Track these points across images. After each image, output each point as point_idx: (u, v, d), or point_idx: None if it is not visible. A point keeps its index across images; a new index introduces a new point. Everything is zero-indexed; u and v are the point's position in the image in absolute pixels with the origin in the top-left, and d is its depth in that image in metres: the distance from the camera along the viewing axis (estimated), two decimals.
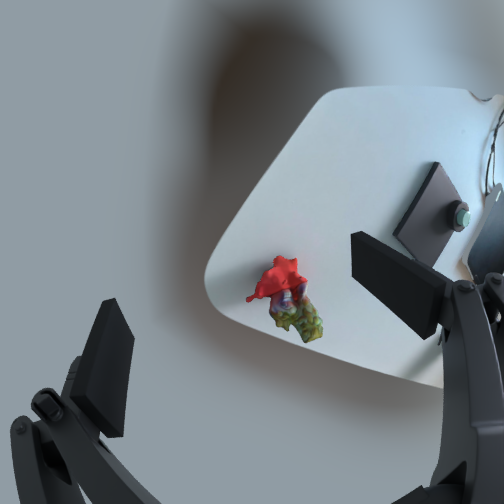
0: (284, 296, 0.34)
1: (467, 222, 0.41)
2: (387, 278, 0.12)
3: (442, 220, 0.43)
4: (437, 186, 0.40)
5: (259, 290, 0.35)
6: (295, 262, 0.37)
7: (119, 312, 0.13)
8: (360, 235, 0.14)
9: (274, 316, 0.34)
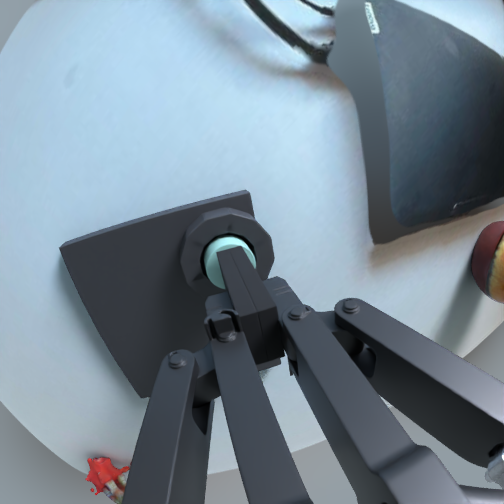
0: (105, 493, 0.23)
1: None
2: None
3: (197, 302, 0.20)
4: (102, 285, 0.18)
5: (96, 488, 0.24)
6: (95, 463, 0.25)
7: None
8: (235, 250, 0.15)
9: None
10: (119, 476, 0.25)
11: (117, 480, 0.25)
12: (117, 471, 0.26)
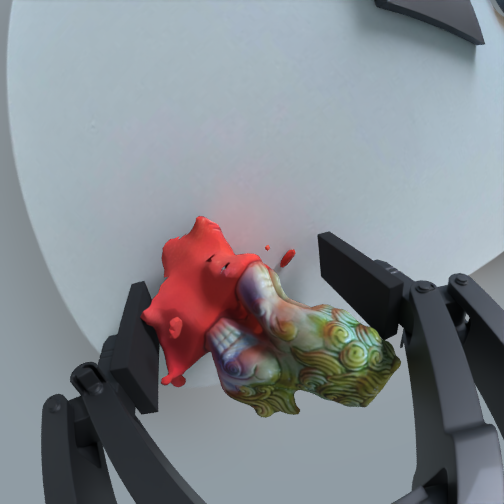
0: (218, 350, 0.11)
1: None
2: (349, 278, 0.13)
3: None
4: None
5: (168, 362, 0.12)
6: (203, 228, 0.12)
7: (148, 295, 0.14)
8: (326, 236, 0.15)
9: (240, 400, 0.11)
10: None
11: None
12: None
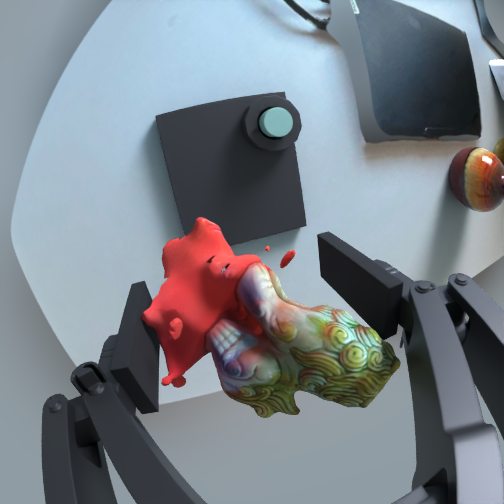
0: (219, 351, 0.11)
1: (286, 123, 0.25)
2: (349, 278, 0.13)
3: (249, 159, 0.29)
4: (183, 142, 0.27)
5: (169, 362, 0.12)
6: (203, 229, 0.12)
7: (148, 295, 0.14)
8: (326, 235, 0.15)
9: (240, 400, 0.11)
10: None
11: None
12: None
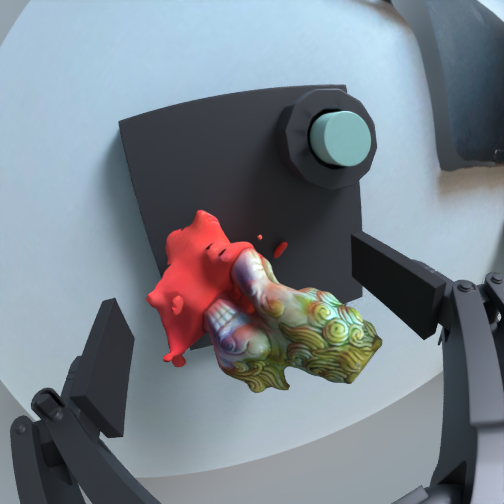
0: (215, 328, 0.12)
1: (361, 141, 0.13)
2: (387, 278, 0.12)
3: (287, 199, 0.17)
4: (169, 170, 0.15)
5: (170, 341, 0.13)
6: (203, 220, 0.14)
7: (119, 312, 0.13)
8: (360, 235, 0.14)
9: (235, 376, 0.12)
10: None
11: None
12: None
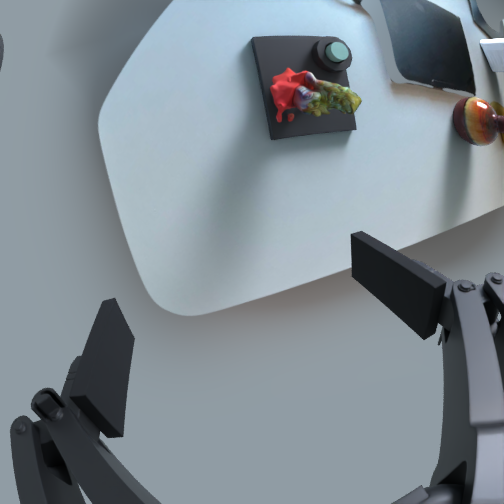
0: (300, 91, 0.29)
1: (344, 52, 0.30)
2: (387, 278, 0.12)
3: (317, 75, 0.34)
4: (272, 57, 0.32)
5: (279, 103, 0.31)
6: (289, 70, 0.31)
7: (119, 312, 0.13)
8: (360, 235, 0.14)
9: (308, 111, 0.30)
10: None
11: None
12: None
